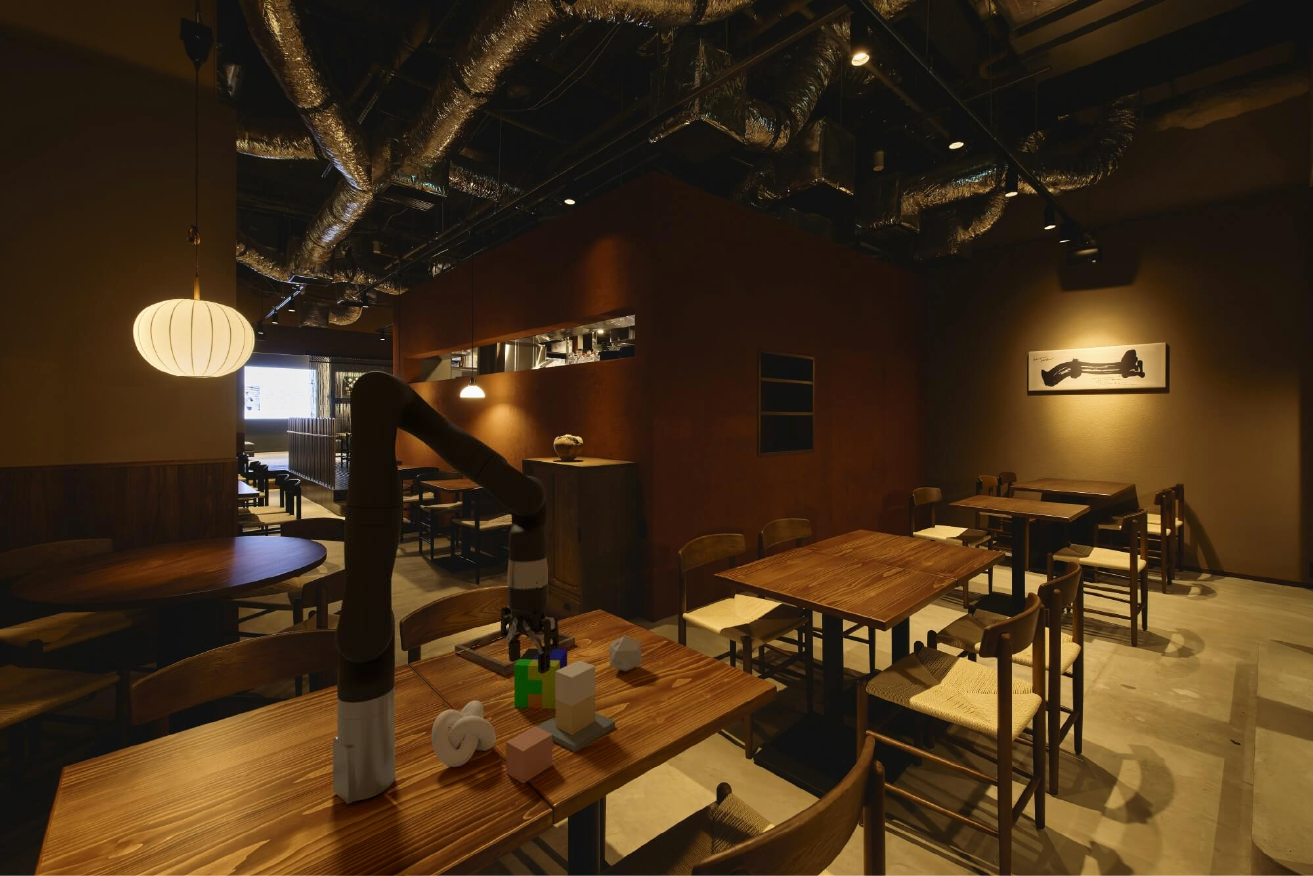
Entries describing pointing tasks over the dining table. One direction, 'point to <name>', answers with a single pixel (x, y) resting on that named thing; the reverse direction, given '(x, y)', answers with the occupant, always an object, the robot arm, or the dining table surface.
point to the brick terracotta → (528, 754)
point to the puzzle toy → (537, 679)
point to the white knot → (461, 734)
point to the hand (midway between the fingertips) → (529, 666)
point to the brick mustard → (575, 715)
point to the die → (625, 653)
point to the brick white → (575, 682)
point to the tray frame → (493, 663)
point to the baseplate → (581, 736)
